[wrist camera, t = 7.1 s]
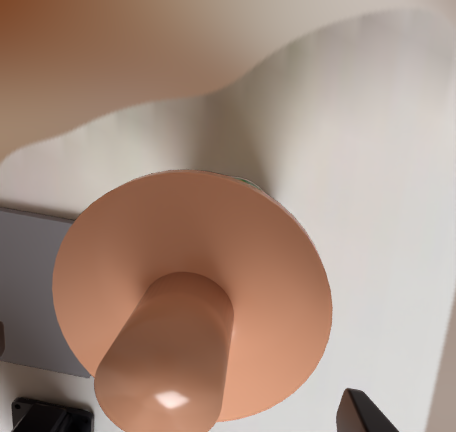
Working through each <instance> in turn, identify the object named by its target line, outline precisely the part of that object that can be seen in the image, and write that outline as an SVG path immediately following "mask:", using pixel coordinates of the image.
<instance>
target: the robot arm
mask: <svg viewBox="0 0 456 432" xmlns="http://www.w3.org/2000/svg"><path fill="white" fill-rule="evenodd" d="M5 346H6V344H5V331H4V324H3V322H2V321H0V358H1V357H2V355H3V353H4V351H5ZM12 418H13V430H12V431H11V432H93V430H94V416H93V414H92V413H90V412H88V411H83V410H79V409H74V408H69V407H64V406H59V405H54V404H49V403H44V402H40V401H35V400H30V399H25V398H16V399H15V401H14V402H13V403H12ZM336 424H337V432H399V431H398V430H397V429H396V428H395V426H394V425H393V424H392V423H391V422H390V421H389V420H388V419H387V417H386V416H385V415H384V414H383V413H382V412H381V411H380V410H379V408H378V407H377V406H376V405H375V404H374V403H373V402H372V401H371V399H370V398H369V397H368V396H367V395H366V394H365V393H364V392H363V391H361V390H356V389H351V388H347V389H345V391H344V393H343V396H342V399H341V402H340V405H339V408H338V411H337V416H336Z"/></svg>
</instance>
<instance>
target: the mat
mask: <svg viewBox="0 0 456 432" xmlns="http://www.w3.org/2000/svg"><path fill="white" fill-rule="evenodd" d="M74 222H75V220H69V219H64V218H58V217H53V216H47V215H41V214H36V213H30V212H24V211H19V210H13V209H7V208H2V207H0V321H2V322H3V324H4V331H5V344H6V346H5V351H4V353H3V355H2V357H1V358H0V361H5V362H10V363H15V364H20V365H25V366H30V367H35V368H40V369H45V370H50V371H55V372H60V373H65V374H70V375H75V376H80V377H85V378H90V376H91V374H90V373H89V372H88V371H87V370H86V369H85V367H84V366H83V365H82V364H81V363H80V362H79V360H78V359H77V357H76V356H75V355H74V353H73V352H72V350H71V349H70V347H69V345H68V343H67V341H66V339H65V338H64V336H63V333H62V331H61V328H60V326H59V323H58V320H57V316H56V312H55V308H54V302H53V293H52V282H53V270H54V265H55V260H56V256H57V254H58V251H59V248H60V245H61V243H62V241H63V239H64V237H65V235H66V233H67V232H68V230H69V228H70V227H71V226H72V224H73V223H74Z"/></svg>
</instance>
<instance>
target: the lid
mask: <svg viewBox="0 0 456 432" xmlns="http://www.w3.org/2000/svg"><path fill="white" fill-rule="evenodd" d="M52 293H53V302H54V308H55V312H56V316H57V320H58V323H59V326H60V328H61V331H62V333H63V336H64V338H65V339H66V341H67V343H68V345H69V347H70V349H71V350H72V352H73V353H74V355H75V356H76V357H77V359H78V360H79V362H80V363H81V364H82V365H83V366H84V367H85V369H86V370H87V371H88V372H89V373H90V374H91V375H92V376H93V377H94V378H95V379H94V389H95V394H96V398H97V400H98V403H99V405H100V407H101V408H102V410H103V411H104V413H105V414H106V416H107V417H108V418H109V419H110V420H111V421H112V422H113V423H114V424H115V425H116V426H118V427H119V428H120V429H122V430H123V431H125V432H208V431H209V430H210V429H211V428H212V427H213V426H214V424H215V423H216V422H224V421H230V420H236V419H241V418H244V417H248V416H252V415H255V414H257V413H260V412H262V411H265V410H267V409H269V408H271V407H273V406H275V405H276V404H278V403H280V402H282V401H283V400H284V399H286V398H287V397H289V396H290V395H291V394H293V393H294V392H295V391H296V390H297V389H298V388H299V387H300V386H301V385H302V384H303V383H304V382H305V381H306V380H307V379H308V378H309V376H310V375H311V374H312V372H313V371H314V370H315V368H316V367H317V365H318V363H319V361H320V359H321V358H322V356H323V353H324V351H325V348H326V345H327V343H328V340H329V335H330V330H331V325H332V299H331V290H330V286H329V283H328V279H327V275H326V272H325V269H324V267H323V264H322V261H321V259H320V257H319V254H318V252H317V250H316V247H315V245H314V243H313V242H312V240H311V239H310V237H309V235H308V234H307V232H306V231H305V229H304V228H303V227H302V226H301V224H300V223H299V222H298V221H297V220H296V218H295V217H294V216H293V215H292V214H291V213H290V212H289V211H288V210H287V209H286V208H284V207H283V206H282V205H281V204H280V203H279V202H278V201H276V200H275V199H273V198H272V197H270V196H269V195H268V194H266V193H265V192H263V191H261V190H259V189H257V188H256V187H254V186H252V185H250V184H248V183H246V182H243V181H241V180H238V179H235V178H232V177H230V176H227V175H222V174H218V173H213V172H209V171H199V170H168V171H163V172H157V173H151V174H148V175H145V176H142V177H139V178H136V179H133V180H131V181H129V182H127V183H125V184H123V185H121V186H119V187H117V188H115V189H113V190H112V191H110V192H108V193H106V194H105V195H103V196H102V197H101V198H99V199H98V200H96V201H95V202H93V203H92V204H91V205H90V206H89V207H88V208H87V209H86V210H84V211H83V212H82V213H81V214H80V215H79V217H78V218H77V219H76V220H75V222H74V223H73V224H72V226H71V227H70V228H69V230H68V232H67V233H66V235H65V237H64V239H63V241H62V243H61V245H60V248H59V251H58V254H57V256H56V260H55V265H54V270H53V282H52Z"/></svg>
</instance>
